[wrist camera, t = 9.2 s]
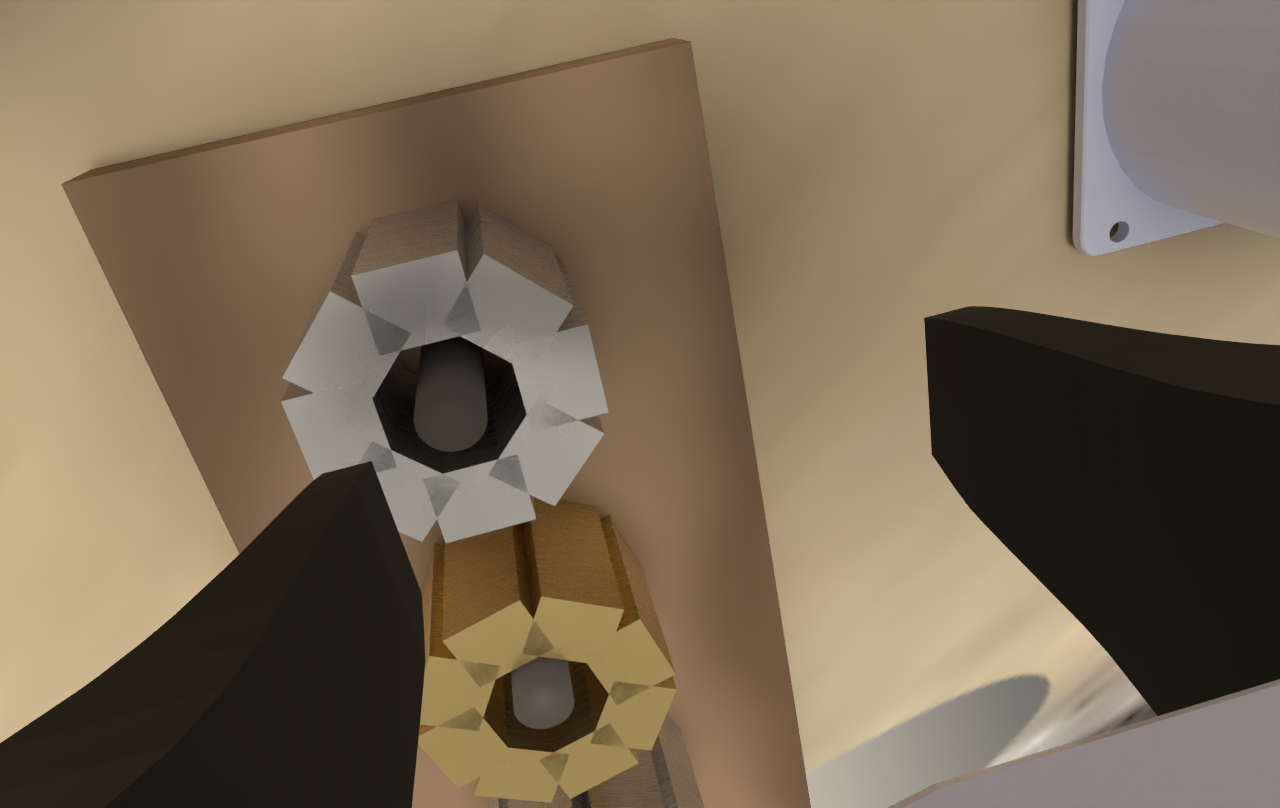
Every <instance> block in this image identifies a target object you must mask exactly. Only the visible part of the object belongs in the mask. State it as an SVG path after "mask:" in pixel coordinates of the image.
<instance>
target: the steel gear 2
mask: <svg viewBox="0 0 1280 808" xmlns="http://www.w3.org/2000/svg"><path fill="white" fill-rule="evenodd" d="M636 753H637V757H638V761H639V763H638V764H636V765H634V766H633V767H631V768H629V769H627V770H625V771H623V772H621V773H619V774H617V775H615V776H613V777H611V778H610V779H608V780H606V781H604V782H602V783H600V784H598V785H596V786H594V787H592V788H590V789H588V790H587V791H585V792H583V793H581V794H579V795H577V796H575V797H573V798H571V799H570V798H569V796H568V795H567V794H566V793H565V791H564V790H563V789H562V788H561V787H560V785H559V784H558V786H557V789H556V792H555V794H554V797H553V800H552V802H551V803H549V802H538V801H527V800H516V799H506V798H495V797H488V808H704V805H703V801H702V798H701V795H700V791H699V788H698V785H697V781H696V778H695V775H694V772H693V768H692V765H691V762H690V758H689V755H688V752H687V748H686V745H685V742H684V739H683V735H682V732H681V729H680V728H679V727H678V725H677V724H676V723H675V722H674V721H673V720H672V719H671V718H670V717H669V716H668V715H667V714H666V717H665V719H664V722H663V724H662V726H661V729H660V731H659V734H658V736H657V738H656V741H655V743H654V745H653V748H652V750H643V749H636Z"/></svg>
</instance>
